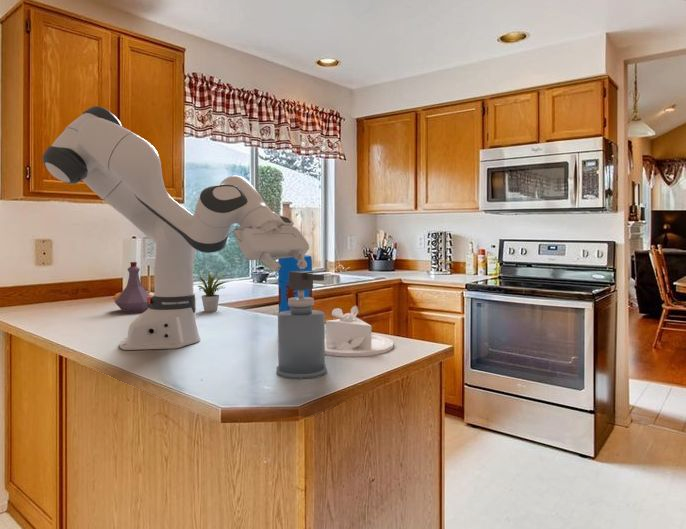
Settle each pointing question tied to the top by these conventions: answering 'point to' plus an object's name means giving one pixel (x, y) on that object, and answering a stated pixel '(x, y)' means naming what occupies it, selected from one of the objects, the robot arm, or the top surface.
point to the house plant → (210, 293)
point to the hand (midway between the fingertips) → (291, 268)
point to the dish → (353, 336)
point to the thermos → (283, 280)
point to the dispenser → (301, 340)
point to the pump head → (303, 281)
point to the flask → (133, 293)
